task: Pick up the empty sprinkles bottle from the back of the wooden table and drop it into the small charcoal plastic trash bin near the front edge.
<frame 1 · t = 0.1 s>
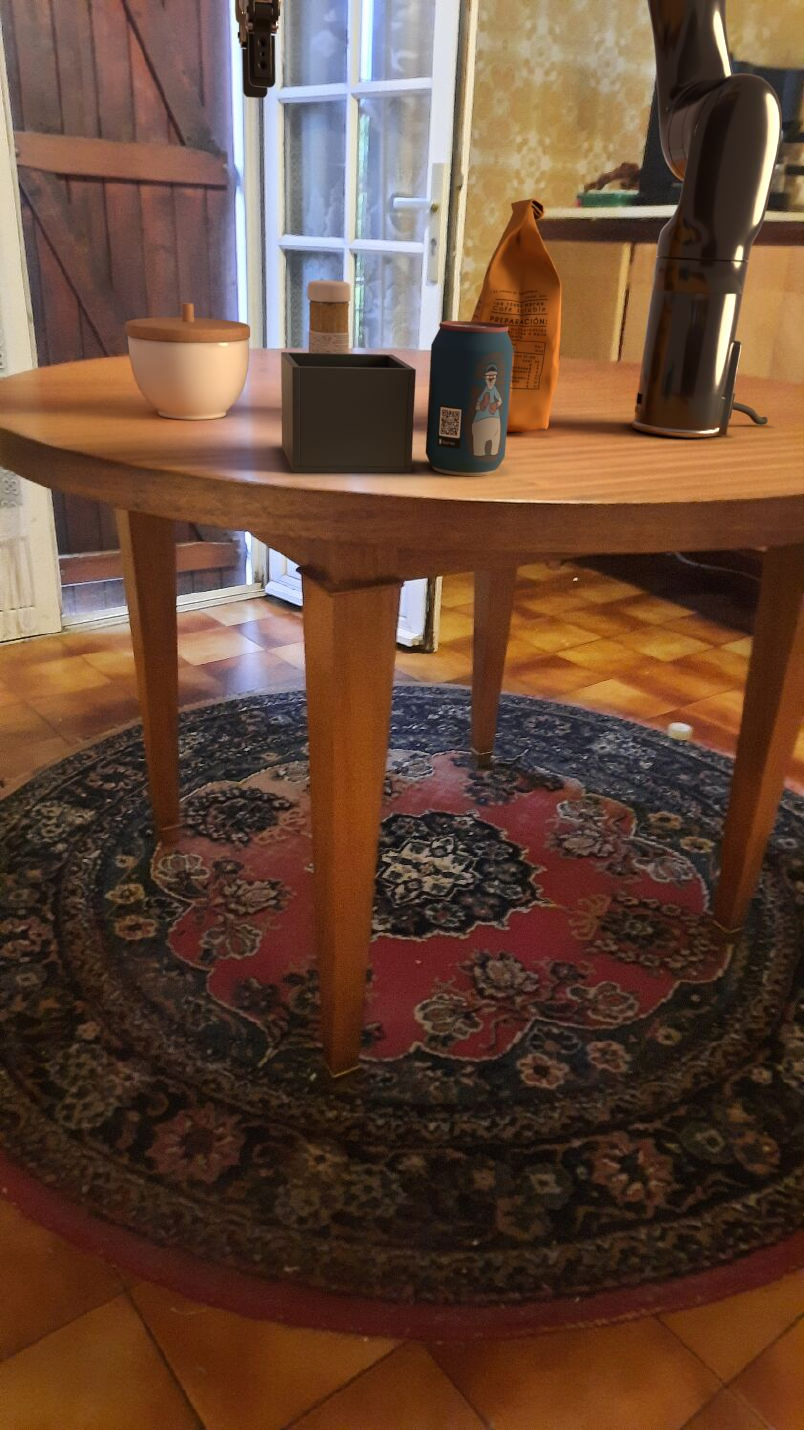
hand: (258, 92, 90), 29 cm above the table, tool pointing down, fingers open, 8 cm apart
coffee package: (504, 428, 110), on the table
sprinkles bottle: (327, 412, 115), on the table
lidded bowl: (192, 416, 109), on the table
soda can: (463, 471, 90), on the table
trash bin: (344, 460, 91), on the table
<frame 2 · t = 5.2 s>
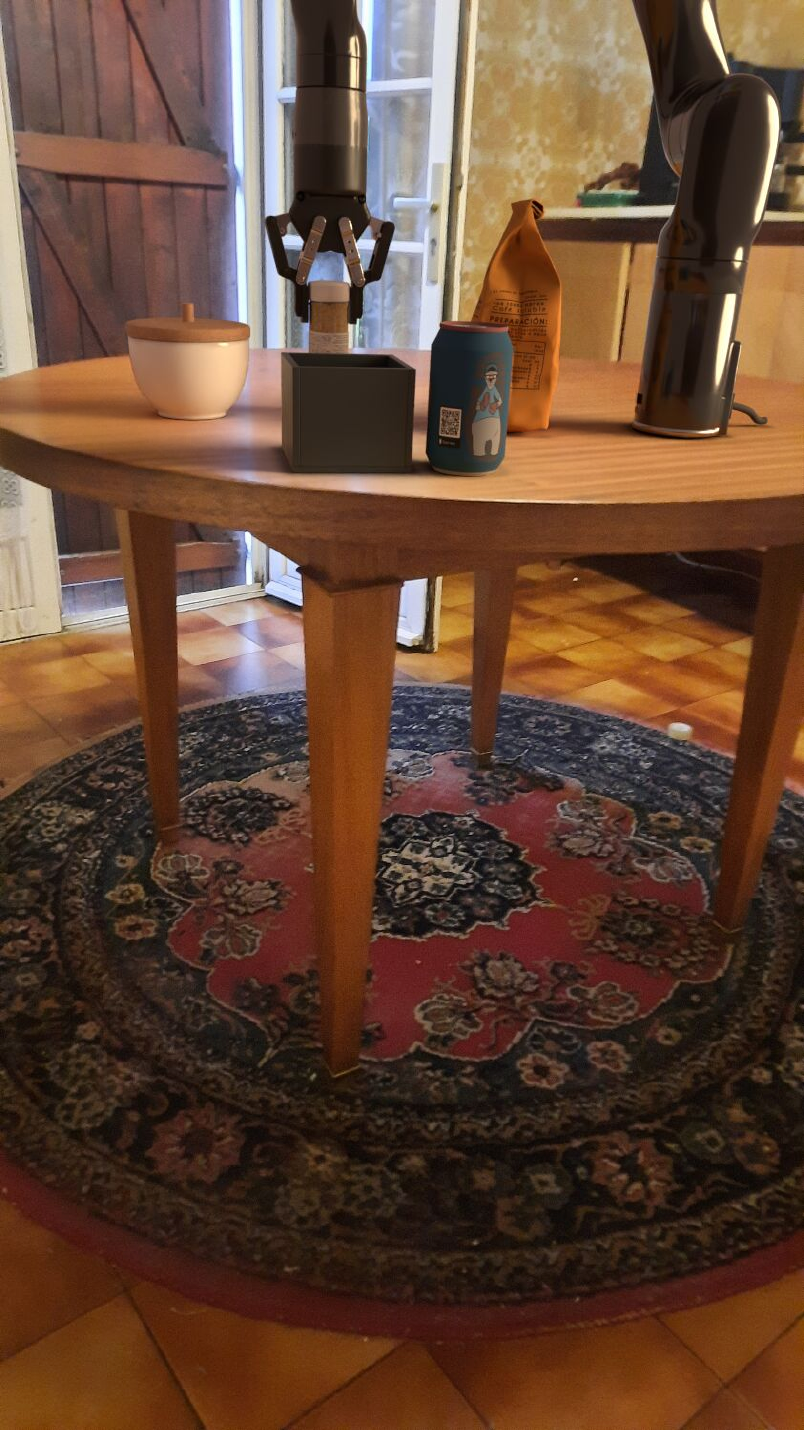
hand: (328, 322, 110), 9 cm above the table, tool pointing down, fingers closed on sprinkles bottle, 4 cm apart
sprinkles bottle: (328, 412, 115), on the table, touching gripper
everything else where it was.
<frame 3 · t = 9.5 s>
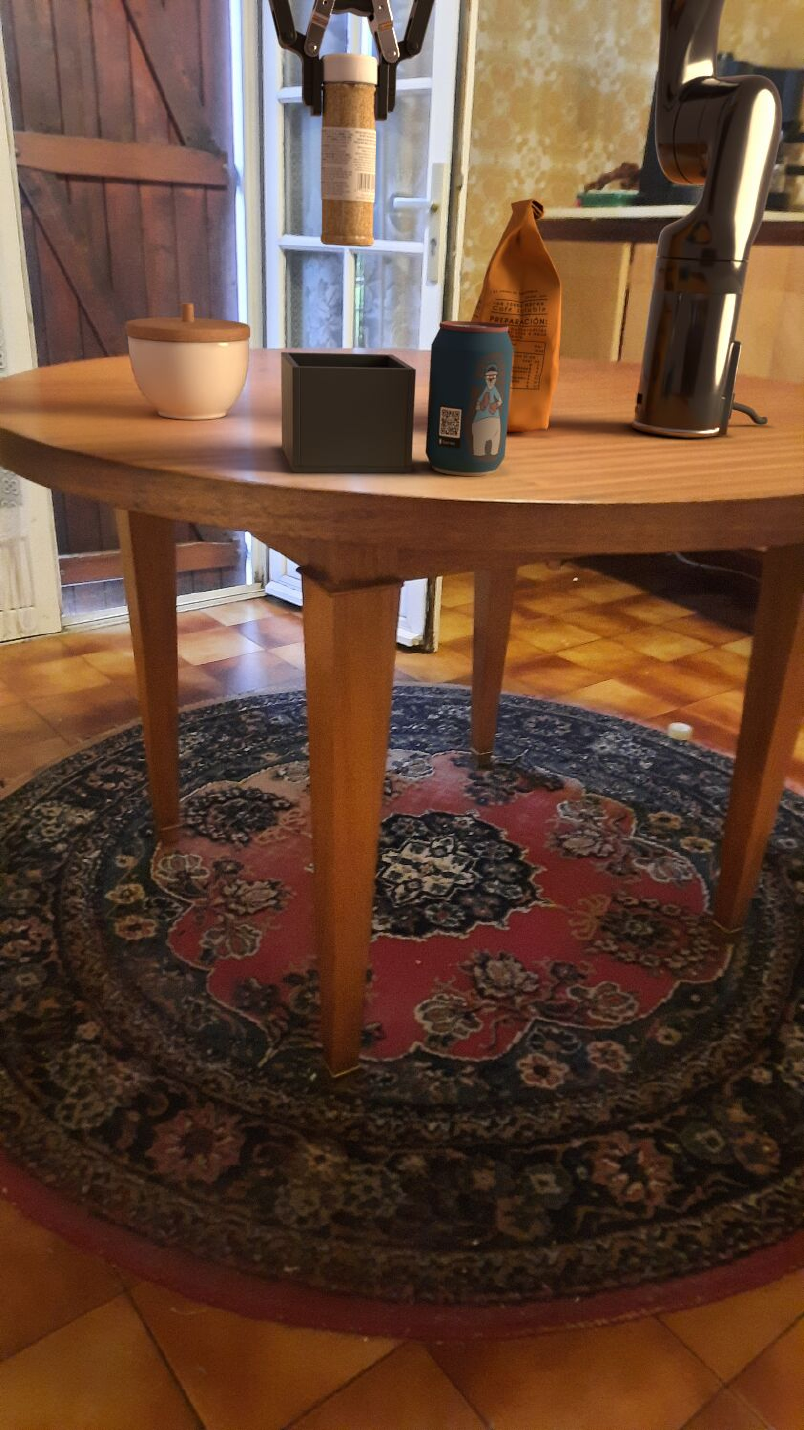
hand: (348, 117, 81), 27 cm above the table, tool pointing down, fingers closed on sprinkles bottle, 4 cm apart
sprinkles bottle: (346, 248, 85), point 17 cm above the table, touching gripper
everything else where it was.
when the fingers open (10 cm above the table, at t = 13.8 s): sprinkles bottle stays where it is, resting on trash bin.
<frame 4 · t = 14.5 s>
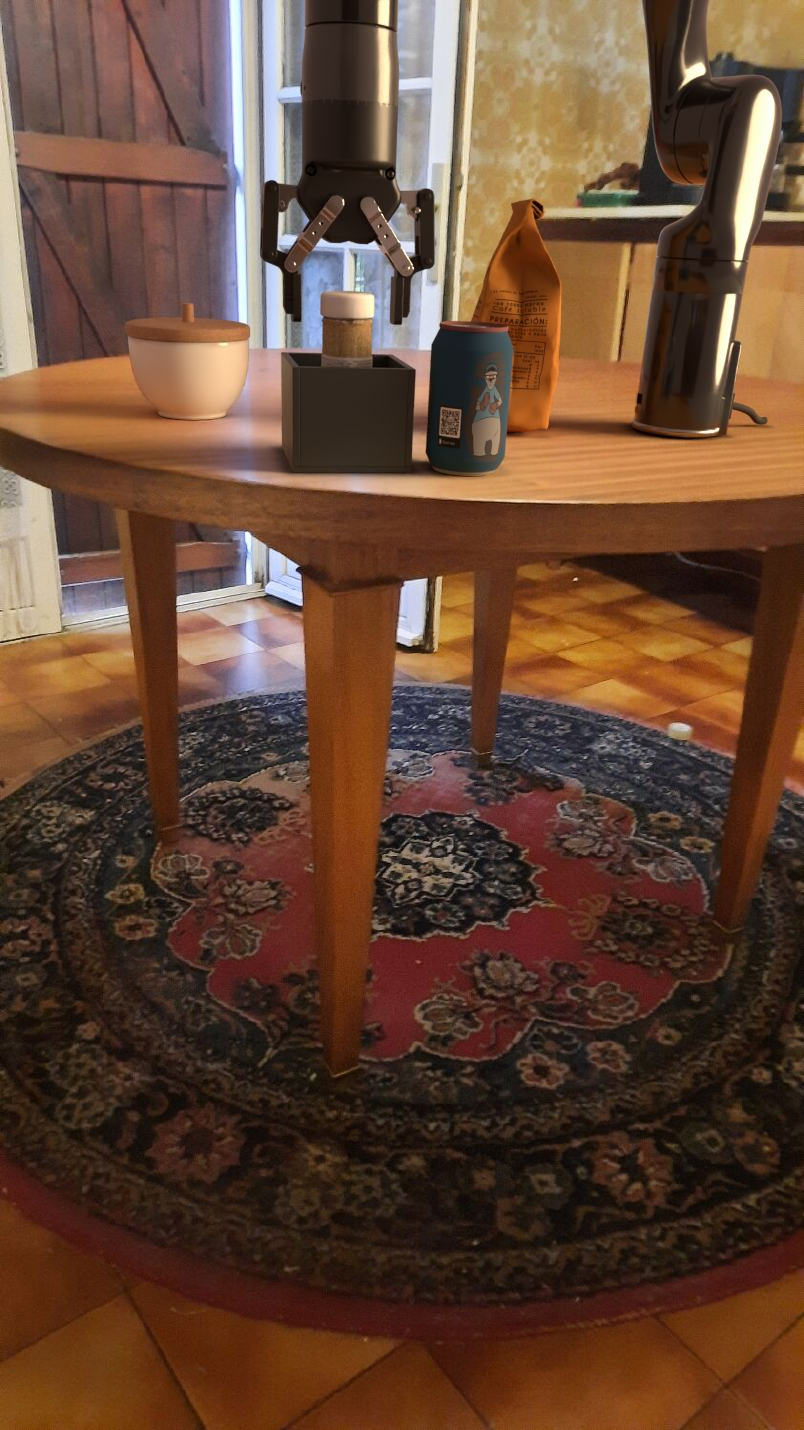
hand: (346, 322, 86), 12 cm above the table, tool pointing down, fingers open, 8 cm apart
sprinkles bottle: (345, 456, 91), resting on trash bin
everything else where it was.
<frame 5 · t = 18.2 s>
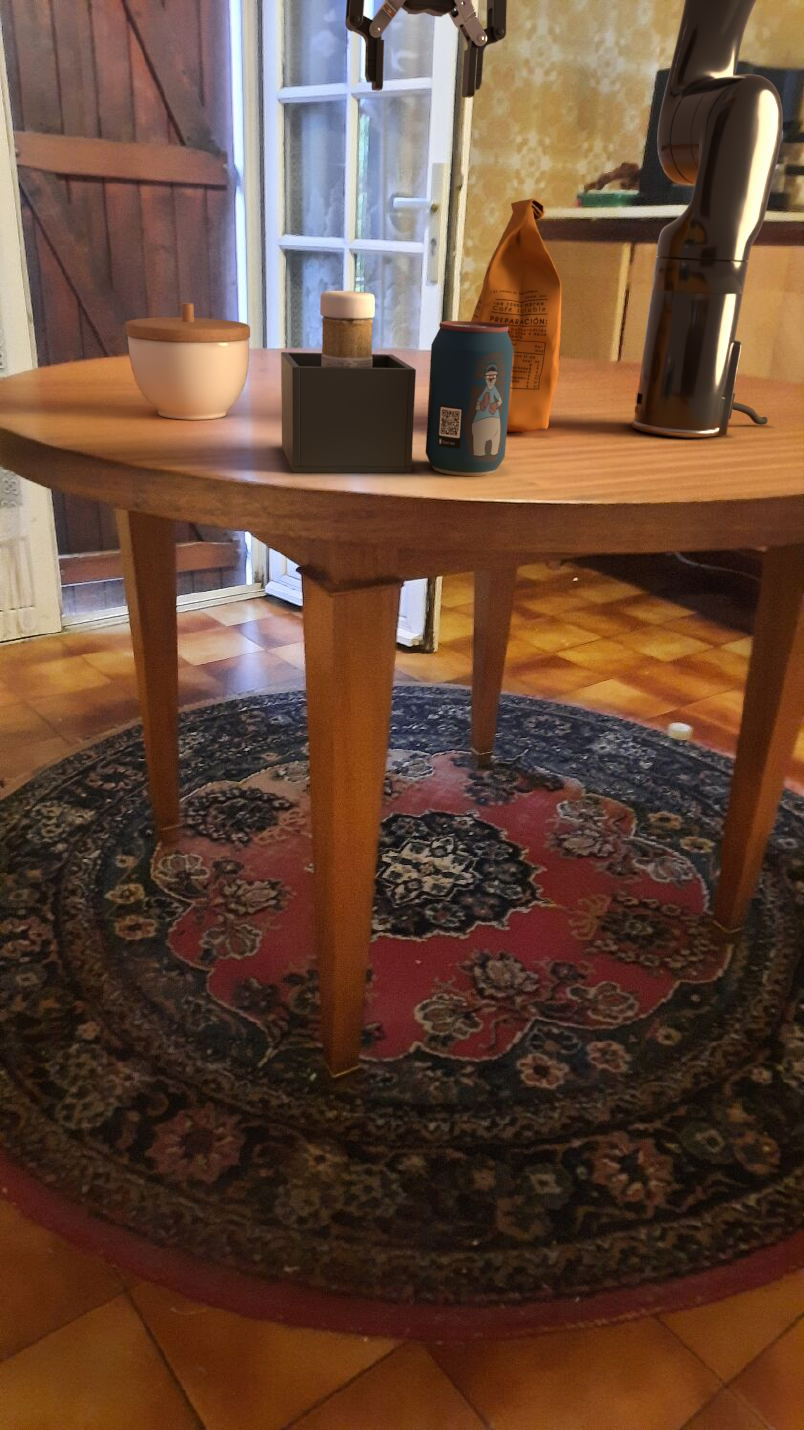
hand: (423, 93, 93), 30 cm above the table, tool pointing down, fingers open, 8 cm apart
nothing on the table moved.
at the end: sprinkles bottle inside the target area in the trash bin (0.1 cm from its centre), point 0.3 cm above the trash bin's base; the gripper is holding nothing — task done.
